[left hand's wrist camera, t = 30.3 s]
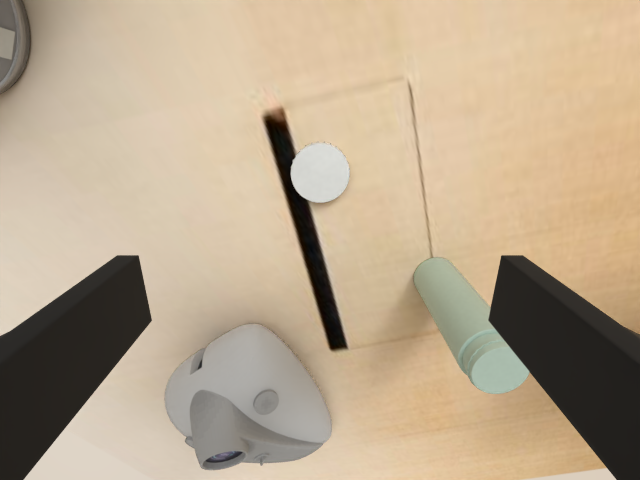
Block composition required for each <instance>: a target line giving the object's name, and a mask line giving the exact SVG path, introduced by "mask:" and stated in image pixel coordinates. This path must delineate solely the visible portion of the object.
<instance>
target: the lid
mask: <svg viewBox="0 0 640 480" xmlns="http://www.w3.org/2000/svg"><path fill="white" fill-rule="evenodd" d="M348 164H349V163H348V161H347V160H346V157H345V155H343V153H342V151H341V150H339V149H338V148H337V147H335V146H333V145H331V143H330V144H329V143H325V142H319V141H318V142H316V143H311V144H309V145H306V146H305V147H304V148H303V149H300V151H299V153H298V154H296V157H295V159H294V160H293V164H292V166H291V179H292V183H293V185H294V187H295V189H296V191H297V192H298V193H299V194H300V195H301V196H302V197H304V198H305V199H307V200H309V201H312V202H317V203H323V202H329V201H331V200H333V199H335V198H337V197H338V196H339V195H341V194H342V192H343V191H344V190H345V188H346V186H347V184H348V181H349V177H350V171H349V170H350V169H349V165H348Z"/></svg>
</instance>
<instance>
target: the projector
mask: <svg viewBox="0 0 640 480" xmlns="http://www.w3.org/2000/svg"><path fill="white" fill-rule="evenodd" d="M165 407H166V410H167V414H168V416H169V418H170V420H171V422H172V423H173V424H174V426H175V427H176V428H177V429H178V430H179V431H180V432H181V433H182V434H183V435H184V436H186V437H187V438H186V440H185V442H186V443H187V444H188V445H189V446H191V447H192V448H194V449H195V452H196V456H197V458H198V461H199V464H200V467H201V468H203V469H205V470H220V469H225V468H228V467H232V466H234V465H237V464H239V463H241V462H246V463H260V464H261V466H262V465H263V463H277V462H288V461H294V460H298V459H301V458H303V457H306V456H308V455H309V454H311V453H313V452H314V451H316V450H317V449H319V448H320V447H321V446H322V445H323V443H325V442H326V441H327V440H328V439H329V438H330V436H331V432H332V422H331V417H330V413H329V410H328V408H327V405H326V403H325V400H324V398H323V396H322V394H321V392H320V390H319V388H318V387H317V385H316V383H315V382H314V380H313V378H312V377H311V375H310V374H309V373H308V371H307V370H306V368H305V367H304V366H303V364H302V363H301V362H300V361H299V359H298V358H297V357H296V356H295V355H294V353H293V352H292V351H291V350H290V349H289V348H288V347H287V345H286V344H285V343H284V342H283V341H282V340H281V339H280V338H279V337H278V336H277V335H275V334H274V333H273V332H272V331H271V330H269V329H268V328H266V327H264V326H263V325H260V324H245V325H241V326H238V327H236V328H234V329H232V330H230V331H228V332H227V333H225V334H223V335H222V336H220V337H219V338H217V339H216V340H214V341H212V342H211V343H210V344H209V345H208V346H207V347H206V348H204V349H201V350H199V351H198V352H196V353H195V354H193V355H192V356H191V357H189V358H188V359H187V360H185V361H184V362H183V363H182V364H181V365H180V366H178V368H177V369H176V370H175V371H174V372H173V374H172V375H171V377H170V379H169V381H168V383H167V386H166V390H165Z"/></svg>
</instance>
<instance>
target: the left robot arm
mask: <svg viewBox="0 0 640 480" xmlns="http://www.w3.org/2000/svg"><path fill="white" fill-rule="evenodd" d="M29 49H30V31H29V23H28V19H27V14H26V11H25V7H24V4H23V2H22V0H0V94H1V93H3V92H4V91H6V90H7V89H9V88H10V87H11V86H12V85H13V84H14V83H15V82H16V81H17V80H18V78H19V77H20V76H21V74H22V72H23V70H24V68H25V65H26V63H27V59H28V55H29ZM151 321H152V319H151V314H150V309H149V304H148V300H147V295H146V290H145V285H144V280H143V275H142V270H141V265H140V260H139V256H116V257H114V258H113V259H112V260H110V261H109V262H107V263H106V264H105V265H103V266H102V267H100V268H99V269H98V270H96V271H95V272H93V273H92V274H90V275H89V276H88V277H86V278H85V279H83V280H82V281H81V282H79V283H78V284H76V285H75V286H73V287H72V288H71V289H69V290H68V291H66V292H65V293H64V294H62V295H61V296H59V297H58V298H57V299H55V300H54V301H52V302H51V303H49V304H48V305H47V306H45V307H44V308H42V309H41V310H40V311H38V312H37V313H35V314H34V315H32V316H31V317H30V318H28V319H27V320H25V321H24V322H23V323H21V324H20V325H18V326H17V327H16V328H14V329H13V330H11V331H10V332H8V333H6V334H4V335H1V336H0V480H23V479H24V478H25V477H26V476H27V474H28V473H29V472H30V471H31V470H32V468H33V467H34V466H35V465H36V463H37V462H38V461H39V460H40V458H41V457H42V456H43V455H44V453H45V452H46V451H47V450H48V448H49V447H50V446H51V445H52V444H53V442H54V441H55V440H56V438H57V437H58V436H59V435H60V434H61V432H62V431H63V430H64V429H65V427H66V426H67V425H68V424H69V422H70V421H71V420H72V419H73V417H74V416H75V415H76V414H77V413H78V411H79V410H80V409H81V408H82V406H83V405H84V404H85V403H86V401H87V400H88V399H89V398H90V396H91V395H92V394H93V393H94V391H95V390H96V389H97V388H98V387H99V385H100V384H101V383H102V382H103V380H104V379H105V378H106V377H107V375H108V374H109V373H110V372H111V370H112V369H113V368H114V367H115V365H116V364H117V363H118V362H119V361H120V359H121V358H122V357H123V356H124V354H125V353H126V352H127V351H128V349H129V348H130V347H131V346H132V344H133V343H134V342H135V341H136V339H137V338H138V337H139V336H140V335H141V333H142V332H143V331H144V330H145V328H146V327H147V326H148V325H149V323H150V322H151ZM488 321H489V322H490V323H491V325H492V326H493V327H494V328H495V330H496V331H497V332H498V333H499V335H500V336H501V337H502V338H503V339H504V341H505V342H506V343H507V344H508V346H509V347H510V348H511V349H512V351H513V352H514V353H515V354H516V356H517V357H518V358H519V359H520V361H521V362H522V363H523V364H524V365H525V367H526V368H527V369H528V370H529V372H530V373H531V374H532V375H533V377H534V378H535V379H536V380H537V382H538V383H539V384H540V385H541V387H542V388H543V389H544V390H545V391H546V393H547V394H548V395H549V396H550V398H551V399H552V400H553V401H554V403H555V404H556V405H557V406H558V408H559V409H560V410H561V411H562V413H563V414H564V415H565V416H566V417H567V419H568V420H569V421H570V422H571V424H572V425H573V426H574V427H575V429H576V430H577V431H578V432H579V434H580V435H581V436H582V437H583V439H584V440H585V441H586V442H587V444H588V445H589V446H590V447H591V448H592V450H593V451H594V452H595V453H596V455H597V456H598V457H599V458H600V460H601V461H602V462H603V463H604V465H605V466H606V467H607V468H608V470H609V471H610V472H611V473H612V474H613V476H614V477H615V478H616V479H617V480H640V334H638V333H635V332H633V331H631V330H629V329H627V328H625V327H623V326H622V325H620V324H619V323H617V322H616V321H615V320H613V319H612V318H610V317H609V316H608V315H606V314H605V313H603V312H602V311H600V310H599V309H598V308H596V307H595V306H593V305H592V304H591V303H589V302H588V301H586V300H585V299H583V298H582V297H581V296H579V295H578V294H576V293H575V292H574V291H572V290H571V289H569V288H568V287H567V286H565V285H564V284H562V283H561V282H559V281H558V280H557V279H555V278H554V277H552V276H551V275H550V274H548V273H547V272H545V271H544V270H542V269H541V268H540V267H538V266H537V265H535V264H534V263H533V262H531V261H530V260H528V259H527V258H526V257H524V256H501V260H500V265H499V270H498V275H497V280H496V285H495V290H494V295H493V300H492V304H491V309H490V314H489V319H488Z"/></svg>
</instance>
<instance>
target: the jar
mask: <svg viewBox="0 0 640 480" xmlns="http://www.w3.org/2000/svg"><path fill="white" fill-rule="evenodd" d="M414 284H415V286H416V288H417V290H418V292H419V294H420V296H421V297H422V299H423V301H424V303H425V305H426V307H427V308H428V310H429V312H430V314H431V316H432V317H433V319H434V321H435V323H436V325H437V327H438V328H439V330H440V332H441V334H442V336H443V338H444V339H445V341H446V343H447V345H448V347H449V348H450V350H451V352H452V354H453V356H454V358H455V359H456V361H457V363H458V365H459V367H460V368H461V370H462V371H463V372H464V373H465V374H466V375H468V377H469V379H470V381H471V382H472V384H473V385H475V386H476V387H477V388H478V389H480V390H481V391H483V392H486V393H491V394H500V393H505V392H509V391H511V390H513V389H515V388H517V387H518V386H520V385H521V384H522V383H523V382H524V381H525V380H526V378H527V377H528V375H529V370H528V369H527V368H526V367H525V365H524V364H523V363H522V362H521V361H520V359H519V358H518V357H517V356H516V354H515V353H514V352H513V351H512V349H511V348H510V347H509V346H508V344H507V343H506V342H505V341H504V339H503V338H502V337H501V336H500V335H499V333H498V332H497V331H496V330H495V328H494V327H493V326H492V325H491V323H490V322H489V321H488V319H489V314H490V309H491V307H490V306H489V305H488V304H487V303H486V302H485V300H484V299H483V298H482V297H481V296H480V295H479V294H478V292H477V291H476V290H475V289H474V288H473V287H472V286H471V284H470V283H469V282H468V281H467V280H466V279H465V278H464V276H463V275H462V274H461V273H460V272H459V271H458V270H457V268H456V267H455V266H454V265H453V264H452V263H451V262H450V261H449V260H447V259H444V258H438V257H436V258H430V259H428V260H426V261H424V262H422V263H421V264H420V265H419V266H418V267H417V269H416V271H415V273H414Z"/></svg>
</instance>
